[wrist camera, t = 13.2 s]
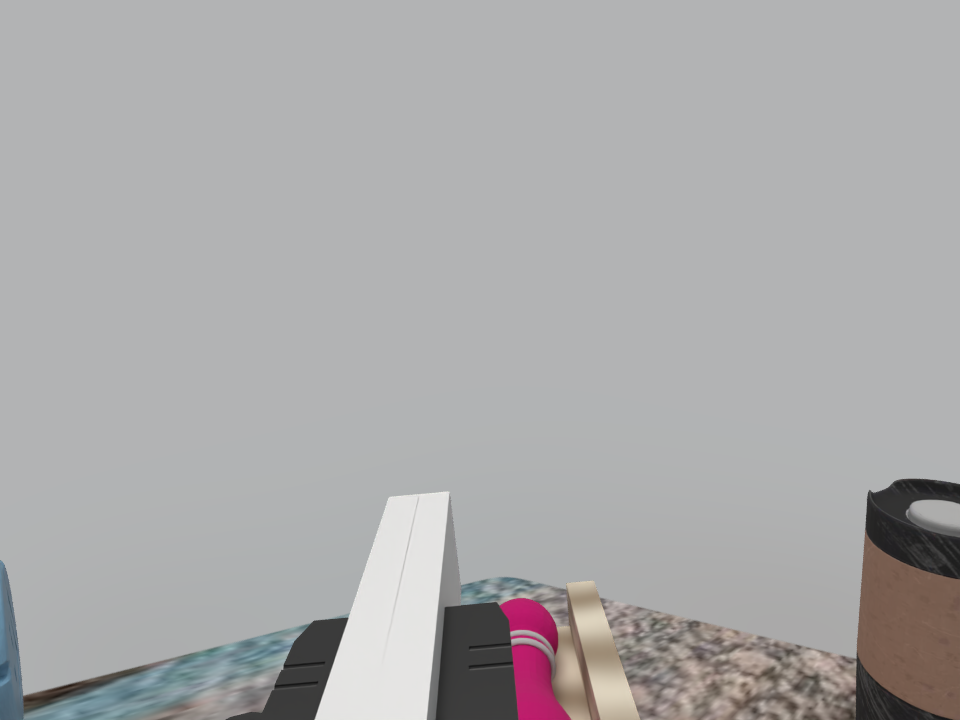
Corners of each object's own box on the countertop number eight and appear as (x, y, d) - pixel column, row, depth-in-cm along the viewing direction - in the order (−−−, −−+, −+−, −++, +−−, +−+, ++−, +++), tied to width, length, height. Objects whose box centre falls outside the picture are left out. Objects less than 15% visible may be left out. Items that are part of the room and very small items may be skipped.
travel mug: (1025, 863, 30) (1073, 551, 26) (864, 816, 34) (883, 531, 29) (971, 746, 37) (1002, 483, 33) (841, 716, 40) (853, 472, 36)
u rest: (656, 849, 33) (653, 758, 32) (401, 869, 33) (386, 779, 32) (597, 646, 50) (593, 580, 48) (427, 661, 50) (418, 596, 49)
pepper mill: (519, 912, 30) (514, 655, 49) (625, 849, 29) (576, 612, 48) (436, 824, 29) (465, 599, 49) (541, 755, 28) (527, 554, 48)
